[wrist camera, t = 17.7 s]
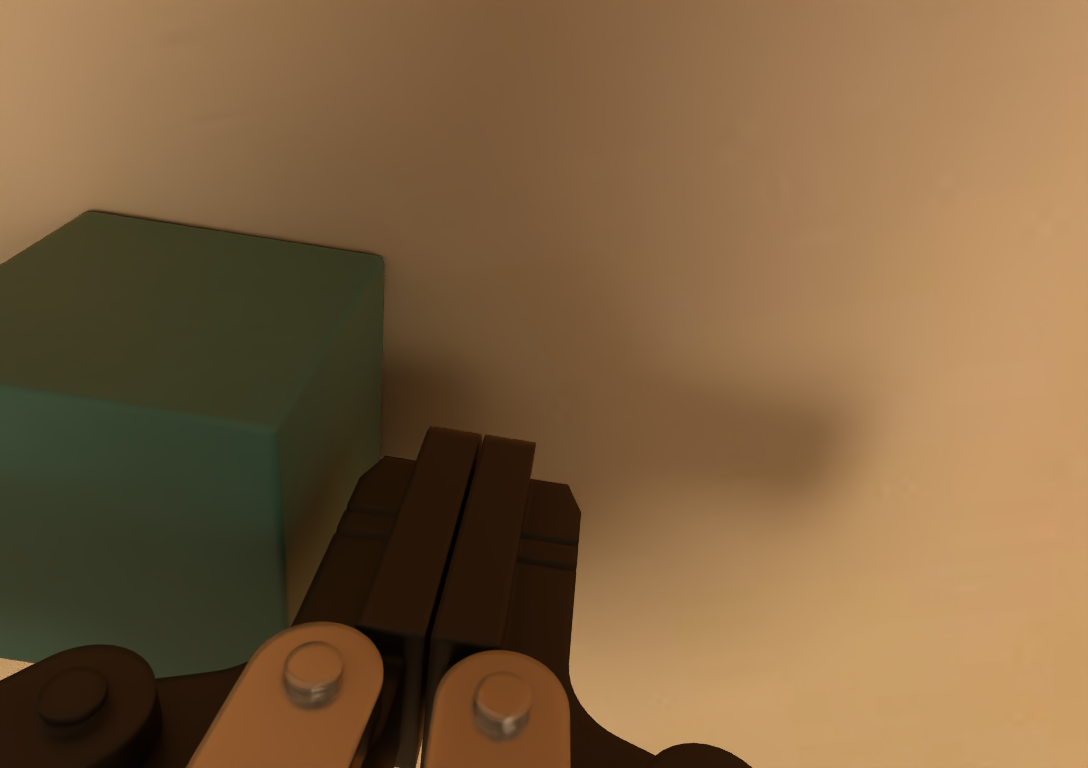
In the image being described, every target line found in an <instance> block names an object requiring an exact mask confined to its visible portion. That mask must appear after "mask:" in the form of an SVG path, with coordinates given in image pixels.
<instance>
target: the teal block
mask: <svg viewBox="0 0 1088 768" xmlns="http://www.w3.org/2000/svg"><path fill="white" fill-rule="evenodd" d="M384 267H385V263H384V260H383V257H381V256H377V255H371V254H364V253H358V252H351V251H345V250H338V249H332V248H325V247H319V246H312V245H306V244H300V243H293V242H287V241H280V240H274V239H267V238H261V237H254V236H248V235H241V234H235V233H228V232H222V231H215V230H209V229H202V228H196V227H189V226H183V225H176V224H170V223H163V222H157V221H150V220H144V219H137V218H131V217H124V216H118V215H111V214H105V213H98V212H92V211H88V212H85V213H83V214H81V215H80V216H78V217H76V218H75V219H73V220H72V221H70V222H68V223H67V224H65V225H64V226H62V227H60V228H59V229H57V230H56V231H54V232H52V233H51V234H49V235H48V236H46V237H44V238H43V239H41V240H40V241H38V242H36V243H35V244H33V245H31V246H30V247H28V248H27V249H25V250H23V251H22V252H20V253H19V254H17V255H15V256H14V257H12V258H11V259H9V260H7V261H6V262H4V263H3V264H1V265H0V658H4V659H10V660H17V661H23V662H29V663H37V662H39V661H41V660H43V659H45V658H47V657H49V656H52V655H54V654H56V653H59V652H61V651H65V650H68V649H71V648H75V647H80V646H85V645H96V644H105V645H115V646H120V647H124V648H127V649H129V650H132V651H134V652H136V653H137V654H139V655H140V656H142V657H143V658H144V659H145V660H146V661H147V662H148V663H149V665H150V667H151V668H152V670H153V672H154V676H155V678H163V677H172V676H180V675H188V674H196V673H204V672H212V671H218V670H223V669H227V668H231V667H234V666H237V665H240V664H243V663H245V662H247V661H249V660H250V658H251V657H252V656H253V654H254V653H255V651H256V650H257V649H258V648H259V647H260V646H261V645H262V644H263V643H264V642H266V641H267V640H268V639H270V638H271V637H272V636H274V635H276V634H278V633H279V632H281V631H283V630H285V629H288V628H290V627H291V625H292V623H293V621H294V619H295V617H296V615H297V613H298V611H299V609H300V606H301V604H302V602H303V600H304V598H305V596H306V593H307V591H308V589H309V587H310V585H311V582H312V580H313V578H314V576H315V574H316V572H317V569H318V567H319V565H320V563H321V561H322V558H323V556H324V554H325V552H326V550H327V548H328V545H329V543H330V541H331V539H332V537H333V534H334V533H336V530H337V526H338V524H339V521H340V519H341V517H342V515H343V513H344V510H346V509H347V504H348V502H349V500H350V497H351V495H352V493H353V491H354V489H355V486H356V484H357V482H358V480H359V478H360V477H361V476H362V475H363V474H364V473H365V472H367V471H368V470H369V469H370V468H371V467H373V466H374V465H375V464H376V463H378V462H379V461H380V438H381V395H382V353H383V310H384Z"/></svg>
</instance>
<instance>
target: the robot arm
mask: <svg viewBox="0 0 1088 768" xmlns="http://www.w3.org/2000/svg"><path fill="white" fill-rule="evenodd" d="M481 445H482V446H481ZM535 447H536V443H535V442H529V441H523V440H517V439H510V438H504V437H498V436H491V435H485V436H484V439H483V442H482V434H477V433H471V432H465V431H459V430H452V429H446V428H440V427H434V426H430V427H429V428H428V430H427V433H426V436H425V438H424V441H423V444H422V446H421V449H420V452H419V454H418V457H417V460H416V461H415V460H408V459H402V458H396V457H390V456H385V457H384V458H382V459H381V460H380V461H379V462H378V463H376V464H375V465H374V466H373V467H371V468H370V469H369V470H368V471H367V472H365V473H364V474H363V475H362V476H361V477H360V478H359V480H358V482H357V484H356V486H355V489H354V491H353V493H352V495H351V497H350V500H349V502H348V504H347V509H346V510H344V513H343V515H342V517H341V519H340V521H339V524H338V526H337V530H336V533H334V534H333V537H332V539H331V541H330V543H329V545H328V548H327V550H326V552H325V554H324V556H323V558H322V561H321V563H320V565H319V567H318V569H317V572H316V574H315V576H314V578H313V580H312V582H311V585H310V587H309V589H308V591H307V593H306V596H305V598H304V600H303V602H302V604H301V606H300V609H299V611H298V613H297V615H296V617H295V619H294V621H293V623H292V625H291V627H290V628H288V629H285V630H283V631H281V632H279V633H278V634H276V635H274V636H272V637H271V638H270V639H268V640H267V641H266V642H264V643H263V644H262V645H261V646H260V647H259V648H258V649H257V650H256V651H255V653H254V654H253V656H252V657H251V658H250V660H249V661H247V662H245V663H243V664H240V665H237V666H234V667H231V668H227V669H223V670H218V671H212V672H204V673H196V674H188V675H180V676H172V677H163V678H155V676H154V672H153V670H152V668H151V667H150V665H149V663H148V662H147V661H146V660H145V659H144V658H143V657H142V656H140V655H139V654H137V653H136V652H134V651H132V650H129V649H127V648H124V647H120V646H115V645H105V644H96V645H85V646H80V647H75V648H71V649H68V650H65V651H61V652H59V653H56V654H54V655H52V656H49V657H47V658H45V659H43V660H41V661H39V662H37V663H35V664H33V665H31V666H29V667H27V668H25V669H23V670H21V671H19V672H17V673H15V674H13V675H11V676H9V677H7V678H5V679H3V680H1V681H0V768H394V767H399V768H416V764H417V759H418V755H419V751H420V747H421V743H422V753H421V766H420V768H752V767H751V766H749V765H748V764H747V763H746V762H744V761H743V760H742V759H740V758H738V757H737V756H735V755H733V754H732V753H730V752H728V751H725V750H723V749H721V748H718V747H714V746H711V745H707V744H699V743H686V744H680V745H675V746H672V747H669V748H667V749H665V750H663V751H661V752H660V753H659V754H657V755H656V756H655V755H653V754H651V753H649V752H647V751H645V750H643V749H641V748H639V747H637V746H635V745H633V744H631V743H629V742H627V741H625V740H623V739H621V738H619V737H617V736H615V735H614V734H612V733H610V732H608V731H607V730H606V729H604V728H603V727H602V726H600V725H599V724H598V723H597V722H596V721H595V720H594V719H593V718H592V717H591V716H590V715H589V714H588V713H587V712H586V711H585V709H584V708H583V707H582V705H581V704H580V702H579V701H578V699H577V697H576V695H575V693H574V690H573V688H572V685H571V681H570V676H569V655H570V643H571V631H572V618H573V606H574V593H575V581H576V567H577V556H578V543H579V531H580V519H581V511H580V509H579V507H578V505H577V503H576V501H575V499H574V496H573V494H572V492H571V490H570V488H569V486H568V485H566V484H560V483H554V482H547V481H541V480H535V479H531V473H532V467H533V460H534V454H535ZM422 739H423V741H422Z"/></svg>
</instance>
